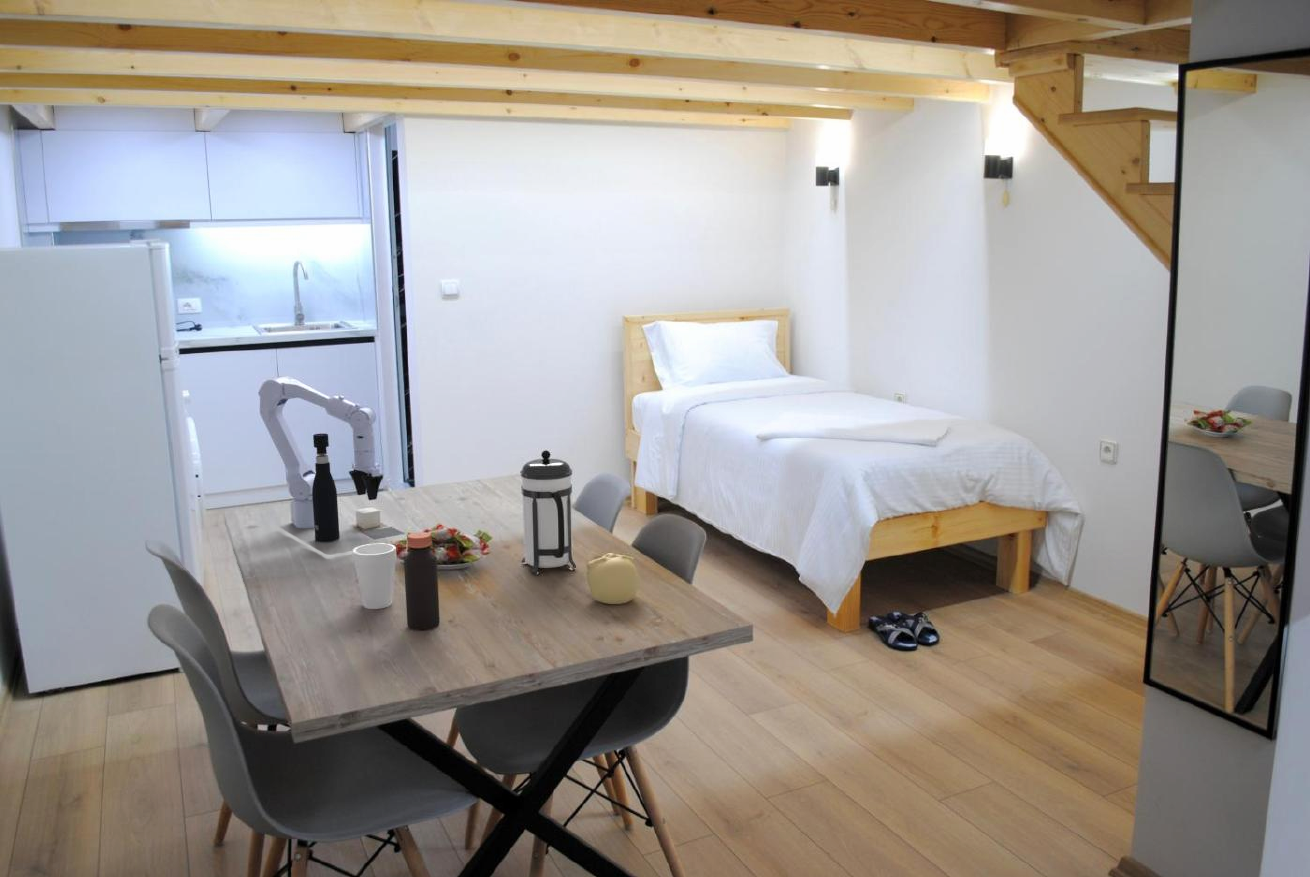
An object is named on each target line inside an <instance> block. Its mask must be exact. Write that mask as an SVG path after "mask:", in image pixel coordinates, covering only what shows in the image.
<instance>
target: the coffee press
mask: <svg viewBox="0 0 1310 877" xmlns="http://www.w3.org/2000/svg"><path fill="white" fill-rule="evenodd" d="M551 455H552V454H551V452H550V451H549V450H543V451H542V452H541V455H540V456H541V458H538V459H533V460H532V459H531V460H530V461H527V462H526V463H525V464H524V465H523V466H522V470H520V473H519V476H520V478H521V481H522V482H521V485H520V486H521V495H522V517H523V518H522V520H523V544H524V545H523V548H524V549H523V552H524V557H523V558H522V560H521V564H522V563H523V562H526V563H527V565H530V566H532V570H531V575H532V574H537V572H540V573H541V570H543V568H544V569H550V568H559V567H566V568H567V569H568V568H570V567H572V569H573V568H576V569H577V565H576V563H575V562H574V560H573V520H572V519H573V518H572V515H573V514H572V513H573V512H572V508H573V507H572V493H573V484H572V481H571V480H572V475H573V469H572V468H571V467H570V464H568V462H566V461H565V460H562V459H559V458H550V457H551ZM569 564H571V566H570V565H569Z"/></svg>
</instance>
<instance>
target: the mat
mask: <svg viewBox="0 0 1310 877" xmlns="http://www.w3.org/2000/svg"><path fill="white" fill-rule="evenodd" d="M360 532H361V534H364V535H366V536H368V537H369V538H372V539H373V540H378V539H382V538H383V539H384V538H388V537H389V538H390V537H393V536H394V537H395V536H399V535H405V534H406V533H405V532H404V531H401V530H399V529H397V528H395V527H394V526H393V527H392V526H389V527H388V526H387V527H381V528H376V529H370V530H365V531H360Z"/></svg>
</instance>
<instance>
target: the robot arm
mask: <svg viewBox="0 0 1310 877" xmlns="http://www.w3.org/2000/svg"><path fill="white" fill-rule="evenodd" d="M257 394H258V396H259V415H260V416H261V419H262V421H263V423H264V425H265V427H266V428H267V431H268V433H269V435H270V437H271V439H272V442H273V443H274V445H275V446H274V447H275V448H276V450H277V452H278V454H279V456H280V458H281V460H282V462H283V464H284V466H285V468H286V470H287V472H286V481H287V483H288V492H289V494H290V496H291V497H292V500H291V502H290V504H289V507H290V520H291V524H293V526H295V528H298V529H313V528H314V513H313V499H312V487H313V482H314V478H315V474H316V470H314V468H313V467H312V466H311V465H310V464H309V463H307V462H306V461H305V458H304V456H303V454H302V452H301V449H300V447H299V445H298V444H297V442H296V439H295V437H294V436H293V434H292V432H291V429H290V428H289V425H288V423H287V421H286V419H285V417H284V415H283V413H282V412H283V410H284V408H285V405H286V403H287V402H288V400H292V399H301V400H304V401H306V402H307V403H311V404H313V405H315V406H319V407H320V408H321V407H322V408H323V409H325V411H326V413H327V415H329V416H331V417H334V418H336V419H338V420H340V421H343V422H344V423H347V424H349V426H350V427H351V428H352V438H353V457H354V460H353V461H352V462H351V469H353V470H350V471H348V474H349V475H350V477H351V480H352V482H353V484H354V486H355V487H354V488H355V490H356V494H357V495H358V496H362V495H367V498H368V501H373V500H377V498H378V495H379V494H378V493H379V490H380V488H379V487H380V486H381V485H380V484H381V482H382V480H383V478H384V475H383V474H380V469H379V467H380V463H377V462H376V446H375V432H374V429H375V428H374V423H375V422H376V418H377V417H376V416H377V415H376V412H375V411H374V409H372V408H370V407H369V406H367V405H366V406H365V405H362V406H361V404H360V403H354V402H352V401H349V400H348V399H346V397H345V396H343V395H339V396H338V395H334V396H332V397H330V396H328V395H326V394H324V393H322V392H320V391H318V390H316V389H314V388H312V387H311V386H308V385H307V384H304V383H302V382H301V381H299V380H298V379H295V378H292V377H289V376H287V375H281V376H279V377H276V378H273V379H267V380H265V381H264V382H263V383H262V385H261V386H260V389H259V391H258V393H257Z"/></svg>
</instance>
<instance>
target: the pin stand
mask: <svg viewBox="0 0 1310 877" xmlns="http://www.w3.org/2000/svg"><path fill="white" fill-rule="evenodd" d="M349 526H350V527H351V528H354V529H356V530H359V531H360V532H365V531H370V530H376V529H381V528H387V525H386V524H384V523H382V522H380V526H377V527H371V528H366V529H363V528H361V527H359V526H357V523H354V524H349Z"/></svg>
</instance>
